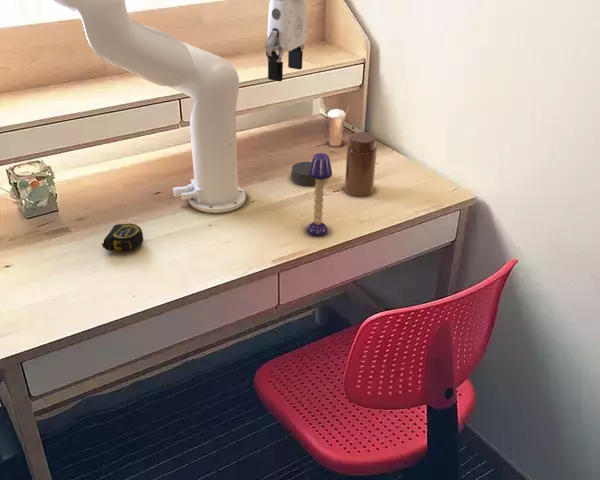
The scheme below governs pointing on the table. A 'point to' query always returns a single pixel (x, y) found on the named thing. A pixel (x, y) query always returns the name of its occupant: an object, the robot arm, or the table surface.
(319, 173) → the toy lamp
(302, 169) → the cap
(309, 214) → the table surface
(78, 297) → the table surface
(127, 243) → the tape measure
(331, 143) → the milkshake
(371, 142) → the jar
